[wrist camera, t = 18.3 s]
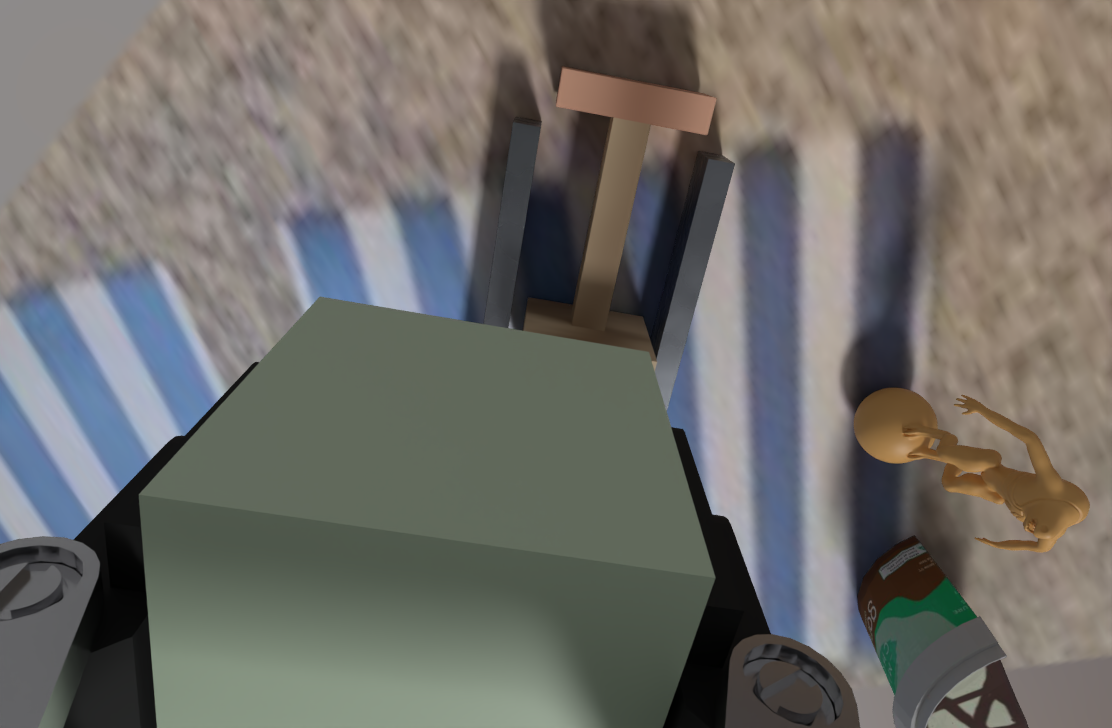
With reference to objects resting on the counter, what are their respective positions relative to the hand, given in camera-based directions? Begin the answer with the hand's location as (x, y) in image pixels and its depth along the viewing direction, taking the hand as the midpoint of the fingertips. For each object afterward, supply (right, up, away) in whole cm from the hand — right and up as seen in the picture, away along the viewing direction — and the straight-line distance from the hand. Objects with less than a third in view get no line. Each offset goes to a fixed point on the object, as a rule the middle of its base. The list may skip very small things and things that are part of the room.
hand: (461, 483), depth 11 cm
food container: (+23, -13, +34) cm, 43 cm away
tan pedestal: (+4, +8, +24) cm, 25 cm away
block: (0, 0, +1) cm, 1 cm away
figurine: (+20, 0, +28) cm, 35 cm away
